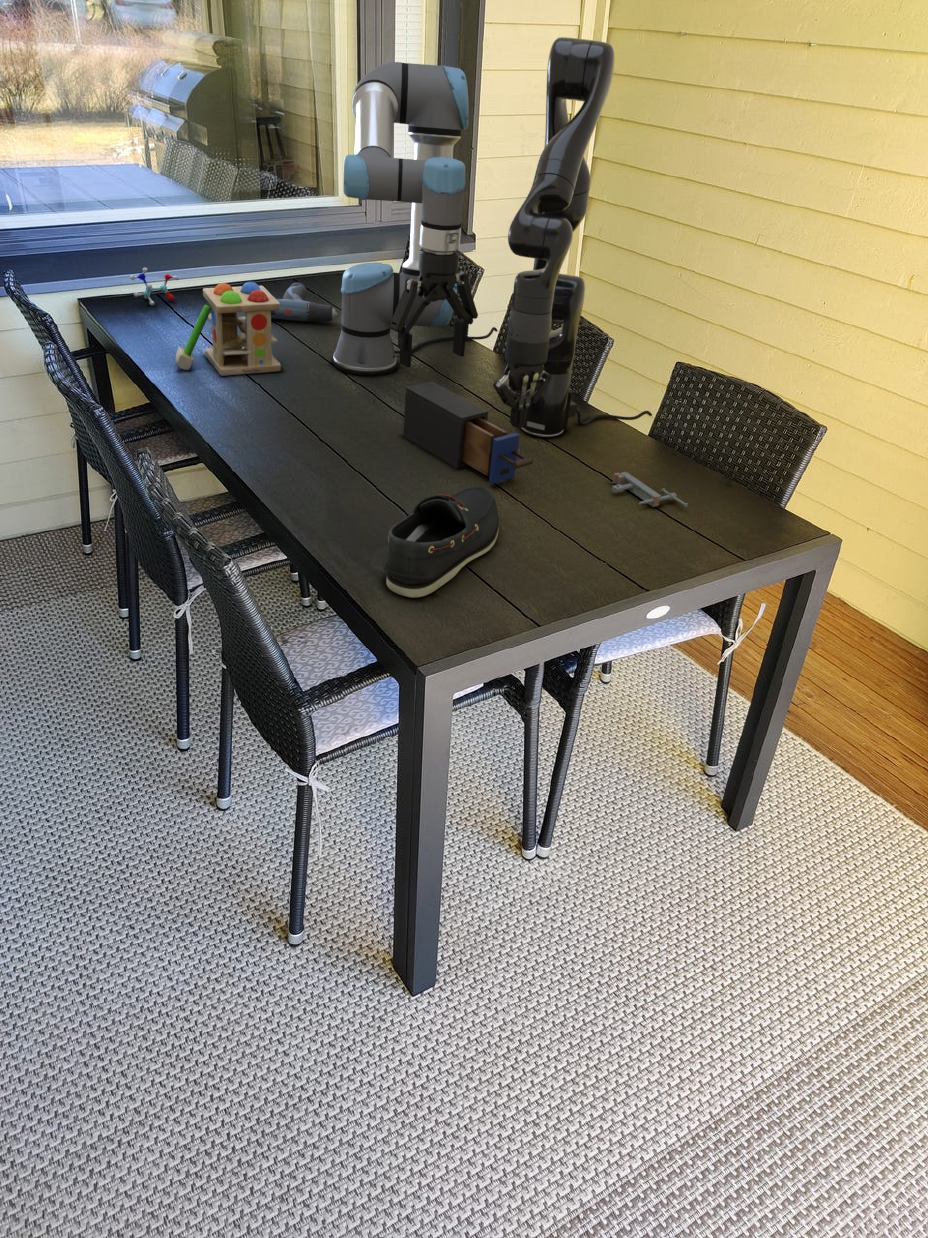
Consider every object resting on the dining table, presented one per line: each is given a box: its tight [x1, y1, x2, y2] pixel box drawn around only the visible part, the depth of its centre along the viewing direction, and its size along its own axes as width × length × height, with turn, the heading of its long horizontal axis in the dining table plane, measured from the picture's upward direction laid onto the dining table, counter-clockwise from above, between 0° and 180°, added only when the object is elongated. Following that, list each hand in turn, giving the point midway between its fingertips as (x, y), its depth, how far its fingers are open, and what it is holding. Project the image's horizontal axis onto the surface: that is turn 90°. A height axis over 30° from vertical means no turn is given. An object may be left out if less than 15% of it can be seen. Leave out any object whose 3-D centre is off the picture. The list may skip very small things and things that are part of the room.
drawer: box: [461, 417, 534, 485], centre depth 191 cm, size 22×6×9 cm, turn 40°
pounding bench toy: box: [174, 281, 282, 377], centre depth 225 cm, size 23×14×18 cm, turn 116°
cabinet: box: [403, 381, 489, 470], centre depth 199 cm, size 18×7×11 cm, turn 40°
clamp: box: [611, 471, 689, 509], centre depth 190 cm, size 15×2×10 cm
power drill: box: [271, 282, 338, 322], centre depth 265 cm, size 5×19×20 cm
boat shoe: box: [383, 486, 500, 598], centre depth 165 cm, size 13×33×10 cm, turn 147°
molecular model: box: [129, 267, 180, 307], centre depth 263 cm, size 12×10×10 cm
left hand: (432, 359), depth 196 cm, fingers open, 13 cm apart
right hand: (517, 425), depth 182 cm, fingers closed
